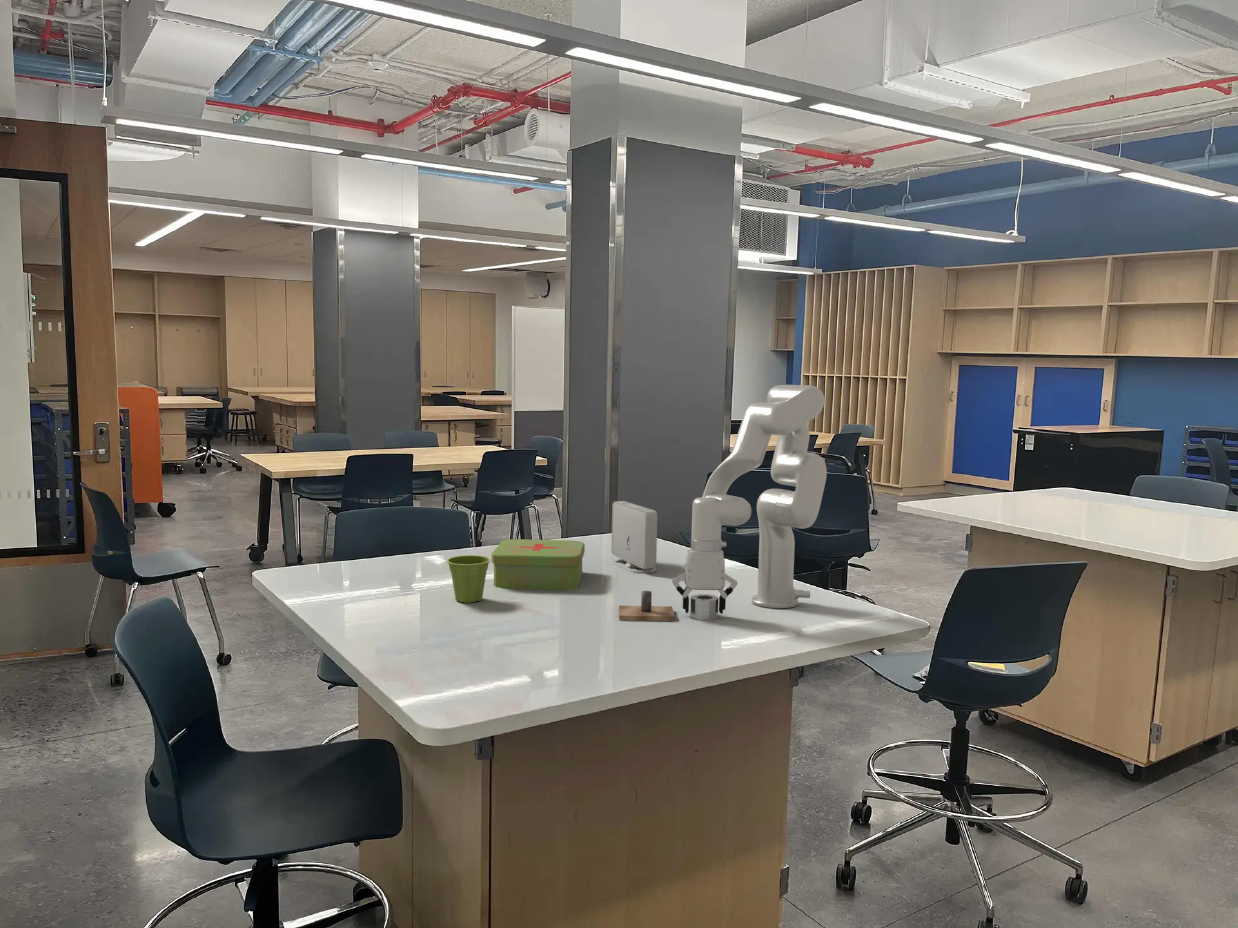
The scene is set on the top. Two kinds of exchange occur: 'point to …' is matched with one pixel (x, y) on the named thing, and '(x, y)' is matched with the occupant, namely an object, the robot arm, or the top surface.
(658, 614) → the post block
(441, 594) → the top surface
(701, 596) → the steel ring
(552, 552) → the first aid kit
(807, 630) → the top surface
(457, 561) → the plant pot
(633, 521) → the network device
